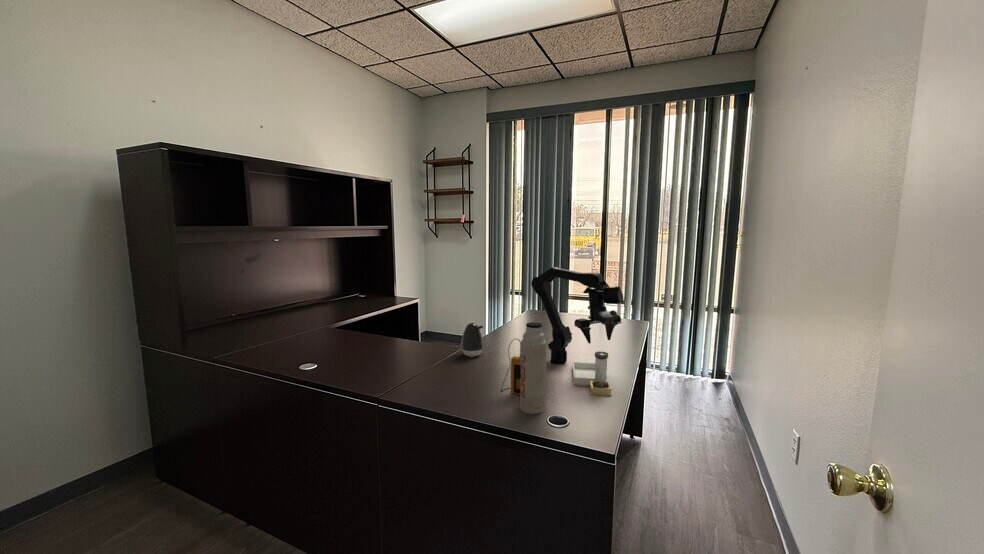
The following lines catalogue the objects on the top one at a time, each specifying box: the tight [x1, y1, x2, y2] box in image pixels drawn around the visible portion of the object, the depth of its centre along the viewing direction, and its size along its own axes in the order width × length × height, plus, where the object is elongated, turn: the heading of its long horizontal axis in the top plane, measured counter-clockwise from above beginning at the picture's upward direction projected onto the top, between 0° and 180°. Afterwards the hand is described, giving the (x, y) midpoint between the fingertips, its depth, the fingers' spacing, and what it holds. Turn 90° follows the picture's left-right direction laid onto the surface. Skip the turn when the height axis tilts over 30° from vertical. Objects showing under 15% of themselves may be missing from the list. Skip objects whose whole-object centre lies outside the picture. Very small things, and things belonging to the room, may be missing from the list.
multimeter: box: [500, 338, 521, 396], centre depth 140 cm, size 15×10×20 cm
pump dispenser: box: [460, 322, 484, 358], centre depth 180 cm, size 10×10×15 cm
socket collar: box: [589, 381, 612, 397], centre depth 140 cm, size 7×7×2 cm
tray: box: [571, 361, 595, 387], centre depth 153 cm, size 10×18×3 cm, turn 170°
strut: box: [594, 351, 609, 388], centre depth 139 cm, size 5×5×14 cm
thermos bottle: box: [519, 321, 547, 415], centre depth 125 cm, size 8×8×28 cm
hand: (599, 341), depth 160 cm, fingers open, 9 cm apart
